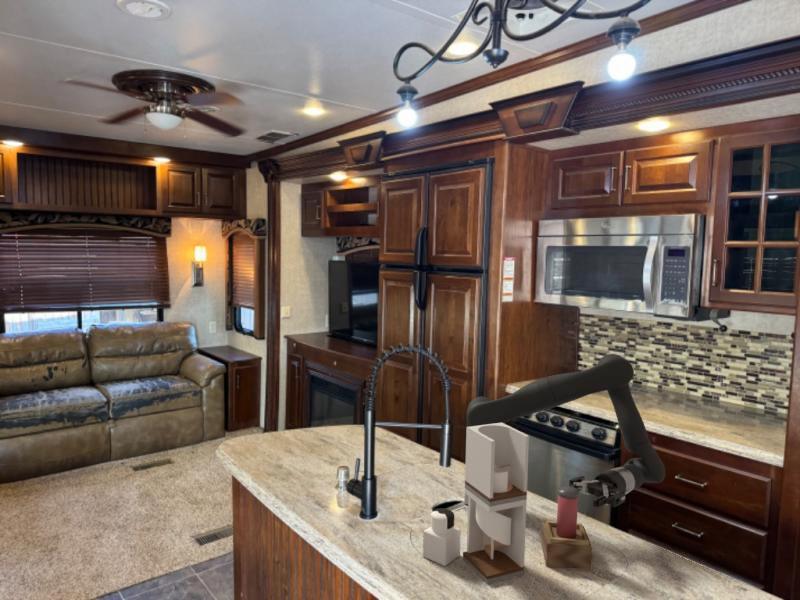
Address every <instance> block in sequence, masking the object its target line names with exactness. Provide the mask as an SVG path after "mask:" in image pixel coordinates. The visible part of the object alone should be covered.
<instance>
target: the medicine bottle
mask: <svg viewBox="0 0 800 600" xmlns="http://www.w3.org/2000/svg"><path fill="white" fill-rule="evenodd" d="M461 535H462V530H461V529H460V528H458V527H455V513H454V512H453V511H452V510H450V509H448V508H440V507H439V508H435V509H434V510H432V511H431V513H430V526H429V527H428V528H426V529H424V530H423V541H422V543H423V544H422V549H423V550H422V557H423V558H425V559H428V560H429V561H432V562H434V563H436V564H439V565H441V566H443V567H446V566H447V565H449V564H450V563H451V562H453V561H454V560H456V559H457V558H458V557H460V555H461V539H462V536H461Z"/></svg>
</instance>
